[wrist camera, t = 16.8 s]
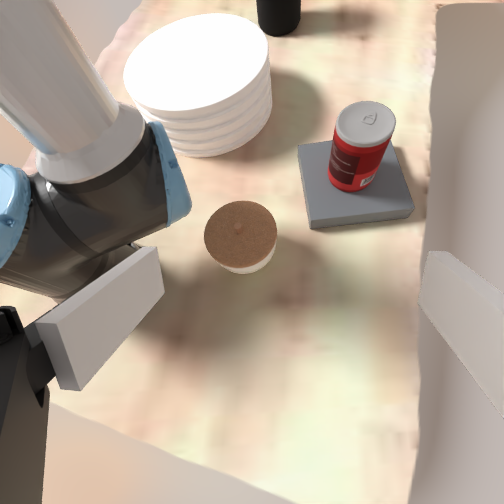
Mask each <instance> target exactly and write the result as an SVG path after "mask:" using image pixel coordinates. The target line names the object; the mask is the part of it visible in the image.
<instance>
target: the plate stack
mask: <svg viewBox="0 0 504 504" xmlns="http://www.w3.org/2000/svg"><path fill="white" fill-rule="evenodd" d="M124 83H125V86H126V89H127V91H128V92H129V94H130V96H131V97H132V99H133V101H134V103H135V104H136V106H137V108H138V109H139V111H140V113H141V114H142V116H143V118H144V119H145V121H146V123H148V122H150V121H151V122H152V121H153V122H156V121H159V122H161V123H162V125H163V126H164V128H165V131H166V133H167V135H168V138H169V140H170V143H171V145H172V148H173V151H174V153H175V154H178V155H181V156H186V157H194V158H202V157H212V156H217V155H221V154H224V153H227V152H230V151H232V150H235V149H237V148H239V147H241V146H242V145H244V144H246V143H247V142H249V141H250V140H251V139H252V138H254V137H255V136H256V135H257V134H258V133H259V132H260V131H261V130H262V128H263V127H264V126H265V124H266V122H267V121H268V119H269V116H270V114H271V110H272V94H271V93H272V92H271V77H270V63H269V49H268V42H267V38H266V36H265V34H264V33H263V31H262V30H261V29H260V28H259V27H258V26H257V25H256V24H255V23H253V22H251V21H250V20H247V19H245V18H243V17H239V16H236V15H230V14H220V13H214V14H202V15H196V16H191V17H187V18H184V19H181V20H178V21H175V22H173V23H170V24H168V25H166V26H164V27H162V28H160V29H159V30H157V31H155V32H154V33H152V34H151V35H149V36H148V37H147V38H146V39H144V40H143V41H142V42H141V43H140V44H139V45H138V46H137V47H136V48H135V50H134V51H133V52H132V54H131V55H130V57H129V59H128V61H127V63H126V66H125V69H124Z"/></svg>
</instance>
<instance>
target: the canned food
mask: <svg viewBox="0 0 504 504" xmlns="http://www.w3.org/2000/svg"><path fill="white" fill-rule="evenodd" d="M395 125H396V119H395V116H394V114H393V112H392V111H391V110H390V109H389V108H388V107H386V106H385V105H383V104H380V103H378V102H373V101H361V102H356V103H353V104H351V105H349V106H347V107H346V108H344V109H343V110H342V111H341V112H340V114H339V116H338V118H337V121H336V125H335V130H334V136H333V142H332V148H331V154H330V159H329V165H328V177H329V180H330V182H331V183H332V185H333V186H334V187H336V188H337V189H339V190H341V191H344V192H356V191H360V190H362V189H364V188H366V187H367V186H368V185H369V184H370V183H371V182H372V180H373V179H374V177H375V174H376V172H377V170H378V167H379V165H380V163H381V160H382V158H383V156H384V153H385V151H386V149H387V146H388V144H389V142H390V139H391V137H392V134H393V132H394V129H395Z"/></svg>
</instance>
